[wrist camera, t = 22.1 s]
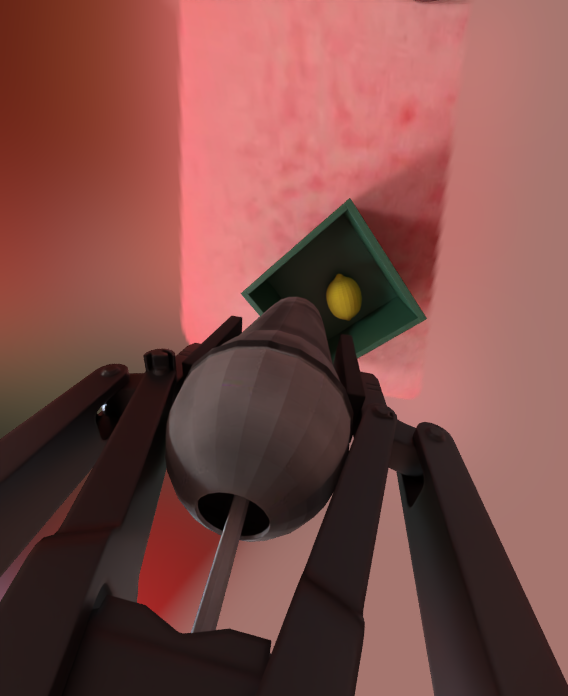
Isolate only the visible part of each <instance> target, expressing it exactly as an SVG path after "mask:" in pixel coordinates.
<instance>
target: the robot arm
mask: <svg viewBox="0 0 568 696" xmlns="http://www.w3.org/2000/svg"><path fill="white" fill-rule="evenodd" d="M416 1H422V2H429V1H437V0H416ZM241 333H242V317H236V316H231V317H230V318H229V319H228V320H226V321H225V322H224V323H223V324H222V325H221V326H220V327H219V328H218V329H217V330H216V331H215V332H214V333H213V334H212V335H210V336H209V337H208V338H207V339H206V340H205V341H204V342H203V343H202V344H199V343H194V344H191V345H189V346H187V347H186V348H185V349H183V351H181V352H180V353H179V354H178V355H177V356H175V353H174V352H173V351H172V350H169V349H155V350H151V351H149V352H147V353H145V354H144V362H145V368H146V372H145V373H133V374H130V373H129V372H128V368H127V367H126V366H125V365H122V364H109V365H106V366H103V367H100V368H99V369H97V370H95V371H94V372H93V373H91V374H90V375H88V376H87V377H85V378H84V379H83V380H81V381H80V382H79V383H77V384H76V385H74V386H73V387H72V388H70V389H69V390H68V391H66V392H65V393H64V394H62V395H61V396H59V397H58V398H56V399H55V400H54V401H52V402H51V403H50V404H48V405H47V406H45V407H44V408H43V409H42V410H40V411H38V412H37V413H36V414H34V415H33V416H32V417H30V418H29V419H27V420H26V421H25V422H23V423H22V424H20V425H19V426H18V427H16V428H15V429H14V430H12V431H11V432H9V433H8V434H7V435H5V436H4V437H3V438H1V439H0V577H1V575H2V574H3V573H4V572H5V571H6V570H7V568H8V567H9V566H10V565H11V564H12V563H13V561H14V560H15V559H16V558H17V557H18V555H19V554H20V553H21V552H22V551H23V550H24V548H25V547H26V546H27V545H28V544H29V542H30V541H31V540H32V539H33V538H34V536H35V535H36V534H37V533H38V532H39V531H40V529H41V528H42V527H43V526H44V525H45V523H46V522H47V521H48V520H49V519H50V518H51V516H52V515H53V514H54V512H56V510H57V509H58V508H59V507H60V505H62V503H63V502H64V501H65V500H66V499H67V497H68V496H69V495H70V494H71V493H72V491H73V490H74V489H75V488H76V487H77V486H78V484H79V483H80V482H81V481H82V480H83V478H84V477H85V476H86V475H87V474H88V473H89V471H90V470H91V469H92V468H93V469H92V470H91V472H90V474H89V476H88V478H87V480H86V481H85V483H84V485H83V487H82V489H81V491H80V492H79V494H78V496H77V498H76V500H75V501H74V504H73V505H72V507H71V509H70V511H69V513H68V514H67V516H66V518H65V520H64V522H63V523H62V525H61V527H60V528H59V530H58V531H57V532H56V533H55V534H54V535H51V536H48V537H44V538H43V539H42V540H41V541H39V542H38V543H37V544H36V545H35V547H34V548H33V549H32V551H31V552H30V553H29V555H28V557H27V558H26V560H25V561H24V563H23V565H22V566H21V568H20V570H19V572H18V573H17V575H16V577H15V578H14V580H13V581H12V583H11V585H10V586H9V588H8V590H7V592H6V593H5V595H4V597H3V598H2V600H1V602H0V696H354V695H355V689H356V683H357V677H358V671H359V664H360V658H361V652H362V646H363V639H364V627H365V626H364V625H365V622H364V618H363V608H364V601H365V596H366V591H367V585H368V579H369V574H370V568H371V563H372V557H373V551H374V545H375V540H376V534H377V529H378V524H379V518H380V512H381V507H382V501H383V496H384V490H385V484H386V478H387V473H388V468H391V469H393V470H395V471H397V477H398V483H399V489H400V495H401V501H402V507H403V513H404V519H405V524H406V531H407V537H408V542H409V548H410V554H411V560H412V566H413V572H414V578H415V584H416V590H417V596H418V601H419V607H420V613H421V619H422V625H423V631H424V637H425V643H426V649H427V655H428V661H429V667H430V672H431V678H432V684H433V690H434V696H568V685H567V683H566V680H565V678H564V676H563V674H562V672H561V670H560V668H559V666H558V664H557V661H556V659H555V657H554V655H553V653H552V650H551V648H550V646H549V644H548V642H547V640H546V638H545V635H544V633H543V631H542V629H541V627H540V625H539V623H538V620H537V618H536V616H535V614H534V612H533V610H532V607H531V605H530V603H529V601H528V599H527V597H526V595H525V593H524V591H523V588H522V586H521V584H520V582H519V580H518V578H517V575H516V573H515V571H514V569H513V567H512V565H511V562H510V560H509V558H508V556H507V554H506V552H505V550H504V547H503V545H502V543H501V541H500V539H499V537H498V535H497V533H496V530H495V528H494V526H493V524H492V522H491V519H490V517H489V515H488V513H487V511H486V509H485V507H484V504H483V502H482V500H481V498H480V496H479V494H478V492H477V490H476V487H475V485H474V483H473V481H472V479H471V477H470V474H469V473H468V470H467V468H466V466H465V464H464V462H463V460H462V457H461V455H460V453H459V451H458V449H457V447H456V444H455V442H454V440H453V438H452V437H451V436H450V434H449V433H448V432H447V431H446V430H444V429H443V428H441V427H440V426H438V425H435V424H432V423H428V422H422V423H419V424H418V426H417V428H415V427H412V426H409V425H407V424H405V423H403V422H401V421H399V420H397V415H396V414H395V412H394V411H393V410H392V409H391V408H389V407H387V405H386V402H385V399H384V396H383V393H382V390H381V387H380V384H379V381H378V379H377V378H376V377H375V376H374V375H373V374H370V373H364V372H360V369H359V365H358V360H357V356H356V351H355V347H354V343H353V338H352V336H350V335H344V334H340V338H339V342H338V346H337V350H336V354H335V358H334V363H333V367H334V369H335V371H336V373H337V375H338V377H339V380H340V382H341V384H342V385H343V386H344V387H345V389H346V392H347V395H348V398H349V401H350V403H351V406H352V409H353V425H352V436H353V437H354V440H353V443H352V445H351V448H350V450H349V453H348V456H347V458H346V461H345V464H344V466H343V469H342V471H341V474H340V477H339V479H338V482H337V485H336V487H335V490H334V493H333V495H332V498H331V500H330V503H329V506H328V508H327V511H326V514H325V517H324V519H323V522H322V524H321V527H320V529H319V532H318V535H317V537H316V540H315V543H314V545H313V548H312V551H311V554H310V556H309V559H308V562H307V564H306V566H305V569H304V571H303V574H302V576H301V578H300V581H299V583H298V585H297V588H296V591H295V593H294V596H293V598H292V601H291V604H290V607H289V609H288V612H287V614H286V617H285V619H284V622H283V625H282V627H281V630H280V633H279V635H278V638H277V641H276V643H275V646H274V648H273V651H272V654H270V647H271V640H268V639H264V638H261V637H257V636H254V635H250V634H246V633H242V632H239V631H236V630H232V629H222V630H213V631H204V632H195V633H185V634H182V633H179V632H178V631H176V630H175V629H174V628H173V627H171V626H170V625H169V624H168V623H166V622H165V621H164V620H163V619H162V618H160V617H159V616H158V615H157V614H156V613H154V612H153V611H152V610H151V609H150V608H148V607H147V606H146V605H143V604H139V603H137V596H138V580H139V574H140V570H141V566H142V562H143V558H144V553H145V550H146V546H147V542H148V538H149V535H150V530H151V526H152V523H153V519H154V515H155V511H156V507H157V503H158V499H159V496H160V492H161V488H162V484H163V480H164V476H165V472H166V468H167V466H166V460H165V443H166V424H167V420H168V416H169V412H170V410H171V408H172V405H173V403H174V401H175V399H176V397H177V395H178V393H179V391H180V390H181V387H182V385H183V383H184V381H185V379H186V377H187V375H188V373H189V371H190V369H191V367H192V366H193V364H194V363H195V362H196V361H197V360H199V359H200V358H201V357H202V356H204V355H205V354H206V353H207V352H209V351H210V350H211V349H212V348H215V347H218V346H221V345H222V344H224V343H225V342H227V341H229V340H231V339H233V338H234V337H237V336H239V335H240V334H241ZM101 406H102V411H101V412H100V413H99V414H97V411H98V410H99V409H100V407H101ZM352 436H351V439H352ZM350 442H351V440H350ZM350 442H349V443H350Z"/></svg>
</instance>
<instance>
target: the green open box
mask: <svg viewBox="0 0 568 696" xmlns="http://www.w3.org/2000/svg"><path fill="white" fill-rule="evenodd" d="M337 274H342V275H343V276H345V277H350V278H352V279H353V280H354V281H355V282H356V283H357V284H358V286H359V288H360V291H361V295H362V303H361V308H360V310H359V312H358V313H357V314H356V315H355V316H354V317H353V318H351V320H349V321H347V320H344V319H339V318H337V317H336V316H334V315H333V313H332V312H331V311H330V309H329V307H328V304H327V299H326V292H327V288H328V286H329V284H330V283H331V282H332V281H333V280H334V279H335V277H336V275H337ZM241 294H242V296H243V297H244V298H245V299H246V300H247V301H248V303H249V304H250V305H251V306H252V307H253V308H254V310H255V311H256V312H257V313H258V314H259V315H260V316H261V315H262V314H263V313H264V312H266V311H267V310H268V309H269V308H270V307H272V306H273V305H274V304H275V303H277V302H279V301H280V300H282V299H285V298H287V297H300V298H304V299H307V300H308V301H310V302H311V303H312V304H314V305H315V307H316V308H317V309H318V311H319V313H320V316H321V318H322V321H323V324H324V328H325V332H326V337H327V341H328V346H329V350H330V355H331V359H332V364H333V363H334V358H335V354H336V350H337V346H338V342H339V338H340V334H344V335H350V336H352V338H353V343H354V347H355V351H356V356H357V358H359V357H361V356H363V355H364V354H366V353H368V352H370V351H371V350H373V349H375V348H377V347H378V346H380V345H382V344H384V343H385V342H387V341H389V340H391V339H392V338H394V337H396V336H398V335H399V334H401V333H403V332H405V331H406V330H408V329H410V328H412V327H414V326H415V325H417V324H419V323H421V322H422V321H424V320H426V319H427V318H426V316H425V315H424V313H423V312H422V310H421V309H420V307H419V305H418V304H417V302H416V301H415V299H414V298H413V296H412V294H411V293H410V291H409V290H408V288H407V287H406V285H405V283H404V282H403V280H402V279H401V277H400V276H399V274H398V272H397V271H396V269H395V268H394V266H393V265H392V263H391V261H390V260H389V258H388V257H387V255H386V254H385V252H384V250H383V249H382V247H381V246H380V244H379V243H378V241H377V239H376V238H375V236H374V235H373V233H372V232H371V230H370V228H369V227H368V225H367V224H366V222H365V221H364V219H363V217H362V216H361V214H360V213H359V211H358V210H357V208H356V206H355V205H354V203H353V202H352V200H351V199H350V198H349V199H348V200H347V201H346V202H345V203H344V204H342V205H341V206H340V207H339V208H338V209H337V210H336V211H334V212H333V213H332V214H331V215H330V216H329V217H328V218H326V219H325V220H324V221H323V222H322V223H321V224H320V225H318V226H317V227H316V228H315V229H314V230H313V231H312V232H310V233H309V234H308V235H307V236H306V237H305V238H304V239H302V240H301V241H300V242H299V243H298V244H297V245H296V246H294V247H293V248H292V249H291V250H290V251H289V252H288V253H286V254H285V255H284V256H283V257H282V258H281V259H280V260H278V261H277V262H276V263H275V264H274V265H273V266H272V267H270V268H269V269H268V270H267V271H266V272H265V273H264V274H262V275H261V276H260V277H259V278H258V279H257V280H256V281H254V282H253V283H252V284H251V285H250V286H249V287H248V288H246V289H245V290H244V291H243V292H242V293H241Z"/></svg>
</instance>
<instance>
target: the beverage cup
mask: <svg viewBox="0 0 568 696" xmlns="http://www.w3.org/2000/svg"><path fill="white" fill-rule="evenodd" d="M352 425H353V409H352V406H351V403H350V401H349V398H348V395H347V392H346V389H345V387H344V386H343V385H342V384H341V382H340V380H339V377H338V375H337V373H336V371H335V369H334V367H333V364H332V359H331V355H330V350H329V346H328V341H327V337H326V332H325V328H324V324H323V321H322V318H321V316H320V313H319V311H318V309H317V308H316V307H315V305H314V304H312V303H311V302H310V301H308V300H307V299H304V298H300V297H287V298H285V299H282V300H280V301H279V302H277V303H275V304H274V305H273V306H272V307H270V308H269V309H268V310H267V311H266V312H264V313H263V314H262V315H261V316H260V317H259V318H258V319H257V320H256V321H254V322H253V323H252V324H251V325H250V326H249V327H248V328H247V329H246V330H244V331H243V332H242V333H241V334H240V335H239V336H237V337H234V338H233V339H231V340H229V341H227V342H225V343H224V344H222V345H221V346H218V347H215V348H212V349H211V350H210V351H209V352H207V353H206V354H205V355H204V356H202V357H201V358H200V359H199V360H197V361H196V362H195V363H194V364H193V366H192V367H191V369H190V371H189V373H188V375H187V377H186V379H185V381H184V383H183V385H182V387H181V390H180V391H179V393H178V395H177V397H176V399H175V401H174V403H173V405H172V408H171V410H170V412H169V416H168V420H167V424H166V443H165V460H166V466H167V472H168V474H169V477H170V479H171V482H172V484H173V487H174V490H175V492H176V494H177V496H178V499H179V500H180V501H181V503H182V504H183V505H184V507H185V508H186V509H187V510H188V511H189V513H190V514H191V515H192V516H193V518H194V519H195V520H197V521H198V522H200V524H202V525H203V526H204V527H206V528H207V529H209V530H211V531H213V532H215V533H217V534H219V535H221V539H220V542H219V545H218V548H217V552H216V555H215V558H214V561H213V564H212V567H211V571H210V574H209V577H208V580H207V583H206V586H205V590H204V593H203V596H202V599H201V602H200V606H199V609H198V612H197V615H196V618H195V621H194V625H193V628H192V631H191V633H195V632H204V631H213V630H216V626H217V622H218V619H219V614H220V611H221V607H222V603H223V600H224V596H225V592H226V588H227V584H228V581H229V577H230V573H231V569H232V565H233V562H234V558H235V554H236V550H237V546H238V542H239V540H242V541H249V542H253V541H265V540H269V539H273V538H276V537H279V536H283V535H286V534H289V533H291V532H292V531H294V530H296V529H298V528H299V527H300V526H302V525H304V524H305V523H306V522H308V521H309V520H310V519H312V518H313V517H314V516H315V515H316V514H317V513H318V512H319V511H320V510H321V509H322V508H323V507H324V506H325V505H326V503H327V502H328V500H329V499H330V497H331V496H332V494H333V492H334V490H335V487H336V485H337V482H338V479H339V477H340V474H341V471H342V469H343V466H344V464H345V461H346V458H347V456H348V453H349V442H350V440H351V436H352Z"/></svg>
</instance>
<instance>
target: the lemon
mask: <svg viewBox="0 0 568 696" xmlns="http://www.w3.org/2000/svg"><path fill="white" fill-rule="evenodd" d="M326 299H327V304H328V307H329V309H330V311H331V312H332V313H333V315H334V316H336V317H337V318H339V319H344V320H347V321H349V320H351V318H353V317H354V316H355V315H356V314H357V313H358V312H359V310H360V308H361V303H362V295H361V291H360V288H359V286H358V284H357V283H356V282H355V281H354V280H353V279H352V278H350V277H345V276H343V275H342V274H337V275H336V277H335V279H334V280H333V281H332V282H331V283H330V284H329V286H328V288H327V292H326Z"/></svg>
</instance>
